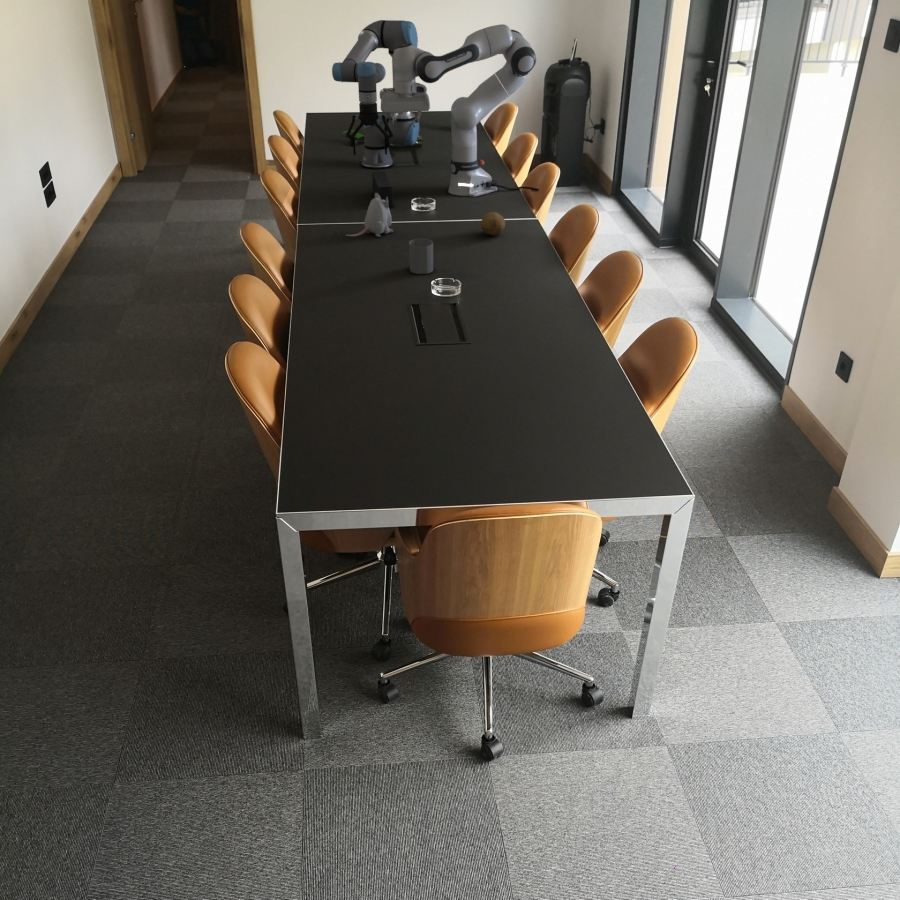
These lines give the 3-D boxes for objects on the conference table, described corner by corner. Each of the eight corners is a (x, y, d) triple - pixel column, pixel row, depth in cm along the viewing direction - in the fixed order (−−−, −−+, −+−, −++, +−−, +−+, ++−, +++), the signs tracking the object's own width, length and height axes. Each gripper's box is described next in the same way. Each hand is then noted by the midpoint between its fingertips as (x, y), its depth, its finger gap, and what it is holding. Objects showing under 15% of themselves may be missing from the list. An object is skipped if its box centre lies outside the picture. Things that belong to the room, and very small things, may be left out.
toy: (398, 232, 342) (397, 194, 334) (353, 246, 328) (351, 207, 320) (383, 227, 348) (381, 189, 340) (338, 241, 333) (335, 202, 325)
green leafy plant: (396, 126, 467) (340, 124, 465) (396, 141, 460) (339, 139, 458) (396, 136, 472) (341, 134, 470) (396, 151, 465) (340, 149, 463)
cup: (409, 265, 311) (408, 238, 306) (432, 265, 312) (431, 238, 307) (410, 274, 304) (409, 246, 299) (433, 273, 305) (433, 246, 299)
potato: (502, 228, 347) (503, 208, 342) (507, 239, 335) (507, 219, 331) (478, 228, 346) (478, 208, 342) (481, 240, 334) (482, 219, 330)
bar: (372, 192, 389) (371, 172, 384) (385, 191, 389) (384, 171, 385) (379, 208, 369) (378, 187, 364) (392, 207, 370) (391, 186, 365)
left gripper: (338, 104, 361) (341, 156, 373) (397, 103, 363) (399, 155, 374) (338, 100, 368) (341, 152, 379) (397, 100, 369) (398, 151, 381)
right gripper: (380, 89, 348) (381, 125, 355) (430, 87, 351) (430, 123, 358) (378, 86, 353) (379, 122, 360) (427, 85, 356) (428, 120, 364)
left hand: (370, 154), depth 377 cm, fingers open, 13 cm apart
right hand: (405, 123), depth 359 cm, fingers open, 8 cm apart
